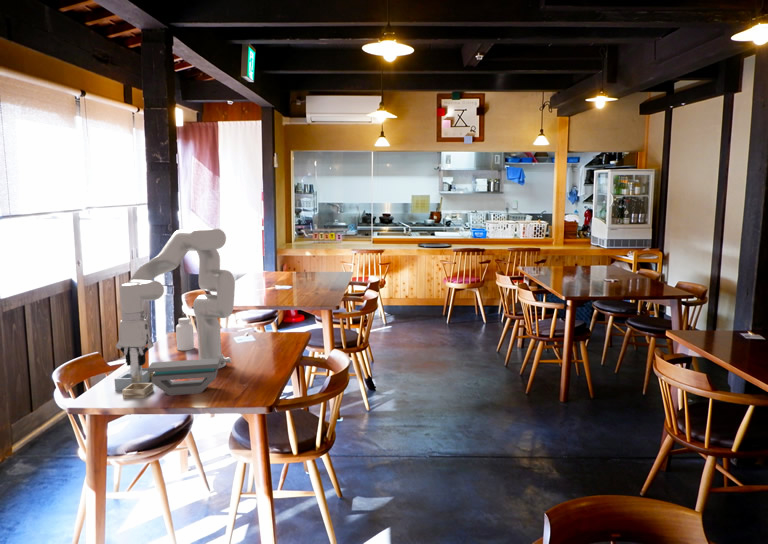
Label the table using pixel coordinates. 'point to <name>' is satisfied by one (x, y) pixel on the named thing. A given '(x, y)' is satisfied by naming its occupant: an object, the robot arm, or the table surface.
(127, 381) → the socket block
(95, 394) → the table surface
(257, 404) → the table surface
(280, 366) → the table surface
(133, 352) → the drill peg
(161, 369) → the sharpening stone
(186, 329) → the pill bottle
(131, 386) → the wooden tray
